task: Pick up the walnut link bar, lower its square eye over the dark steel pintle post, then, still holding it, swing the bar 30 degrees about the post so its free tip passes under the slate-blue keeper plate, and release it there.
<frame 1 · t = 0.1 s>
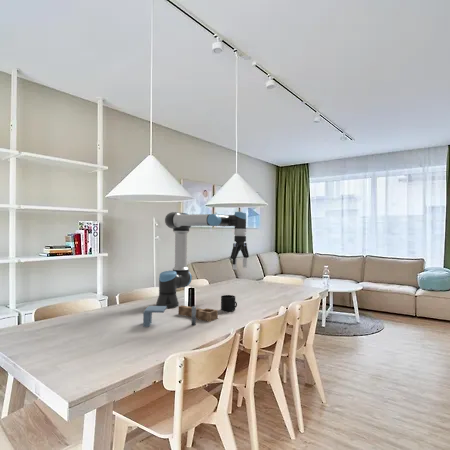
hand: (239, 268, 214), 28 cm above the table, fingers open, 13 cm apart
pintle: (193, 324, 184), on the table
mug: (229, 310, 217), on the table
keeper: (155, 324, 184), on the table
link: (180, 313, 207), on the table
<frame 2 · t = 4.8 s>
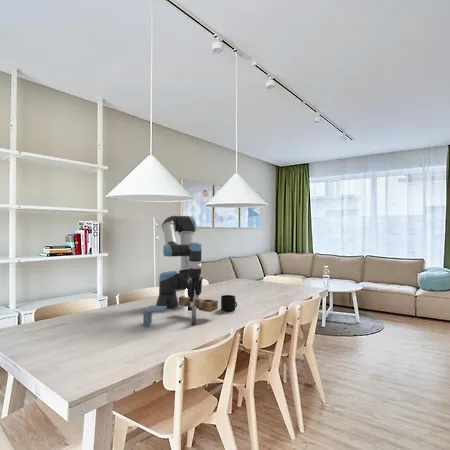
hand: (194, 306, 202), 6 cm above the table, fingers closed on link, 3 cm apart
link: (180, 304, 208), point 6 cm above the table, touching gripper
everything else where it was.
when the fingers open (2 cm above the table, at t = 10.2 s): link stays where it is, on the table.
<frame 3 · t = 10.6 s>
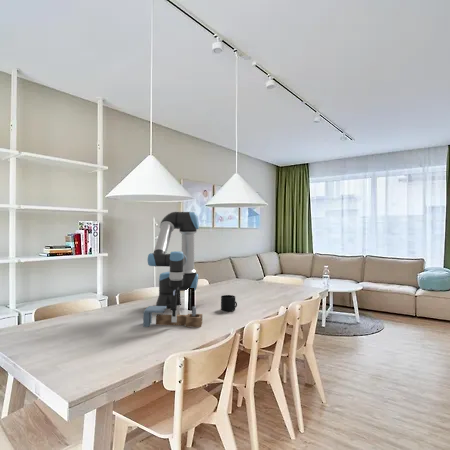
hand: (175, 319, 184), 3 cm above the table, fingers open, 10 cm apart
link: (156, 323, 185), on the table
everything else where it was.
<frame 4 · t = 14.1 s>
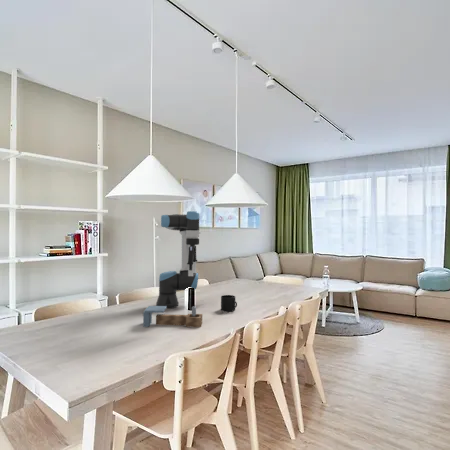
hand: (192, 274, 193), 27 cm above the table, fingers open, 13 cm apart
nothing on the table moved.
at the end: link inside the target area on the keeper (0.8 cm from its centre), point 0.0 cm above the keeper's base; link 20.8 cm from the pintle (horizontally); link on the table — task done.
